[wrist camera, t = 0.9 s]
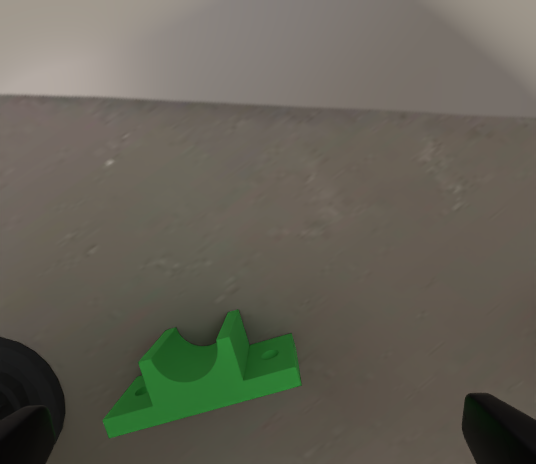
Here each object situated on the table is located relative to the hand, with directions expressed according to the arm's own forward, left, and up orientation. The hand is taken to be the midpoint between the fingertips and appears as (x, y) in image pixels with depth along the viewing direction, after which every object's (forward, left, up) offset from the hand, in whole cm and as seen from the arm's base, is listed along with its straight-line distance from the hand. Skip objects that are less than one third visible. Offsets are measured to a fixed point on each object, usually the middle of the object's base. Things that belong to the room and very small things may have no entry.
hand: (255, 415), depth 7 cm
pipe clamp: (-4, +5, -15) cm, 16 cm away
